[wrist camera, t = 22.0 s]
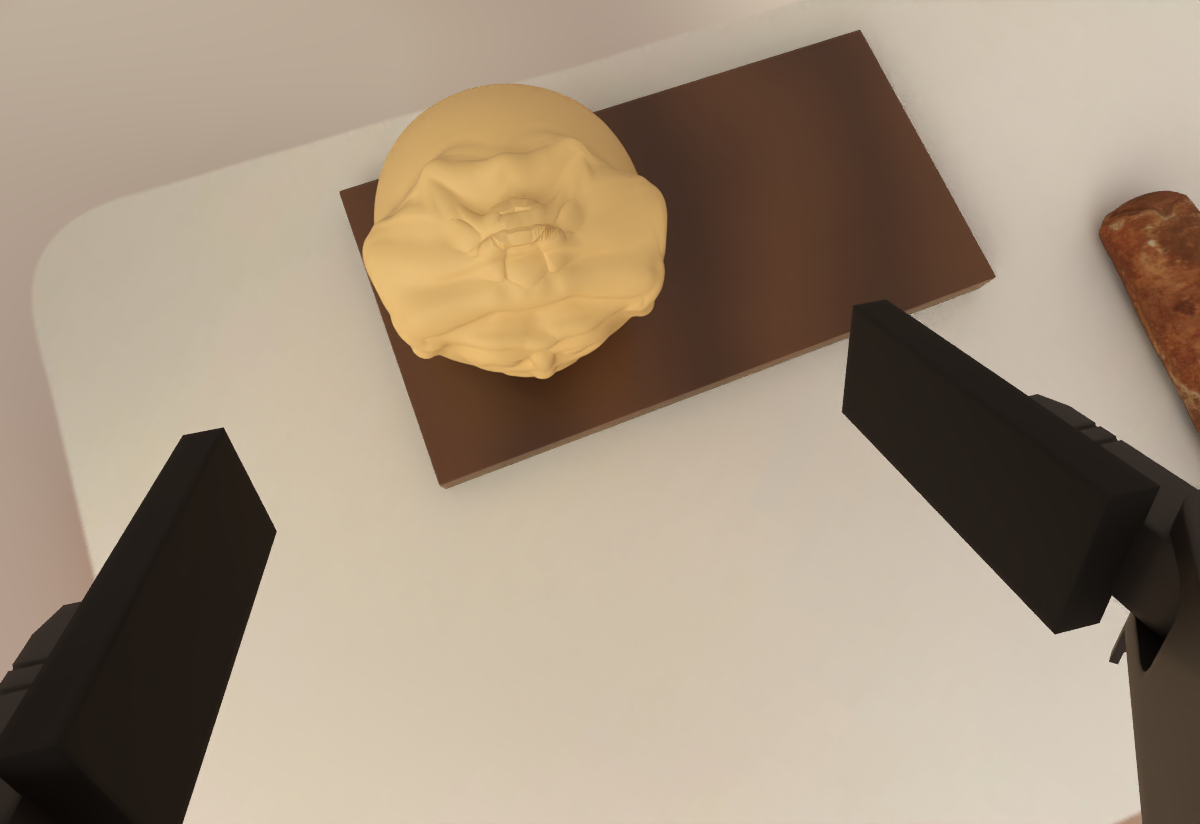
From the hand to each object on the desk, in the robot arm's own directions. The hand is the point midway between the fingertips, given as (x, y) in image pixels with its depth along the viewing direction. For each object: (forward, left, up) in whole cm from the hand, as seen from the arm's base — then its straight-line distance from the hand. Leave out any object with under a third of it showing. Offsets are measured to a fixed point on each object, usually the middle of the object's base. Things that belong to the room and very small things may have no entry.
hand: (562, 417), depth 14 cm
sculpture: (-5, +9, -17) cm, 20 cm away
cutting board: (+1, +14, -18) cm, 23 cm away
